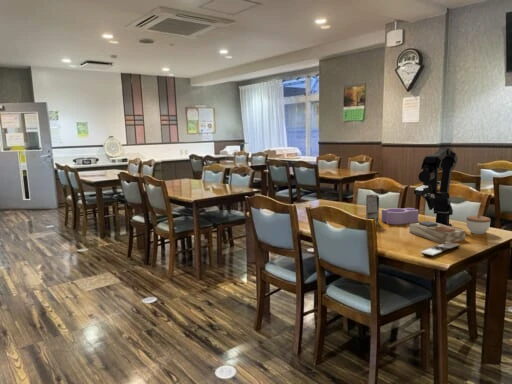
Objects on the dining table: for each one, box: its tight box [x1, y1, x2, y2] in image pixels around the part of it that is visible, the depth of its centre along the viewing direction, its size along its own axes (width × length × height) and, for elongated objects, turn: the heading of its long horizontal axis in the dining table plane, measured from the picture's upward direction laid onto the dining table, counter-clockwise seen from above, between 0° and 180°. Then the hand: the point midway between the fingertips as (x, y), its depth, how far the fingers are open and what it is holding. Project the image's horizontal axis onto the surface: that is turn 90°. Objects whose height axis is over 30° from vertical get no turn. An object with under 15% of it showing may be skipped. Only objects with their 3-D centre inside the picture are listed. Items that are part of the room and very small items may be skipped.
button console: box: [408, 220, 466, 244], centre depth 194 cm, size 14×22×4 cm, turn 19°
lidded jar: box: [465, 214, 492, 235], centre depth 197 cm, size 11×11×9 cm
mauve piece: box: [381, 207, 420, 225], centre depth 225 cm, size 20×12×7 cm, turn 98°
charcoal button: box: [418, 220, 437, 227], centre depth 199 cm, size 6×6×4 cm
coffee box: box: [365, 194, 380, 226], centre depth 223 cm, size 9×6×16 cm
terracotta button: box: [436, 225, 456, 232], centre depth 189 cm, size 6×6×4 cm
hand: (430, 209), depth 199 cm, fingers closed
